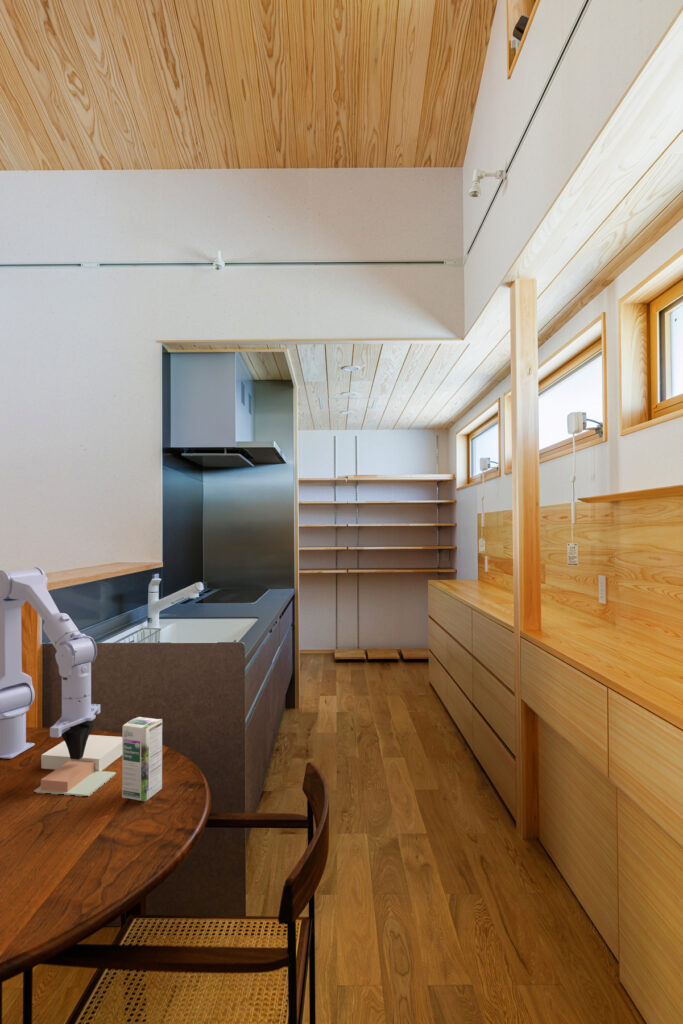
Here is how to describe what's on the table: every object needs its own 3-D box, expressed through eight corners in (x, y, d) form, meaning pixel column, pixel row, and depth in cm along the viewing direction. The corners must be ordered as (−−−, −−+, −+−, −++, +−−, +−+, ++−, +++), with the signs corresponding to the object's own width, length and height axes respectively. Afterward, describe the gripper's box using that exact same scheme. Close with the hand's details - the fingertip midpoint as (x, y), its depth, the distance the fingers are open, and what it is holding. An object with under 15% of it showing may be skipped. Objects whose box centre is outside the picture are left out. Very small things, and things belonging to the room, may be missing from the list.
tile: (40, 789, 113) (40, 779, 113) (69, 769, 122) (68, 760, 122) (67, 791, 113) (67, 781, 113) (94, 771, 121) (94, 762, 121)
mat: (33, 792, 113) (33, 790, 113) (65, 770, 123) (65, 768, 123) (88, 797, 111) (88, 795, 111) (116, 774, 121) (116, 772, 121)
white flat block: (41, 768, 124) (41, 754, 124) (75, 746, 136) (75, 734, 136) (99, 772, 122) (99, 758, 122) (128, 749, 134) (128, 737, 134)
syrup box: (120, 798, 111) (120, 725, 111) (139, 784, 116) (139, 714, 116) (145, 802, 109) (145, 728, 109) (163, 788, 115) (163, 717, 115)
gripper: (72, 707, 113) (72, 774, 113) (112, 685, 127) (112, 745, 127) (40, 705, 114) (40, 772, 114) (84, 684, 128) (84, 743, 128)
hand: (76, 758), depth 120 cm, fingers closed
